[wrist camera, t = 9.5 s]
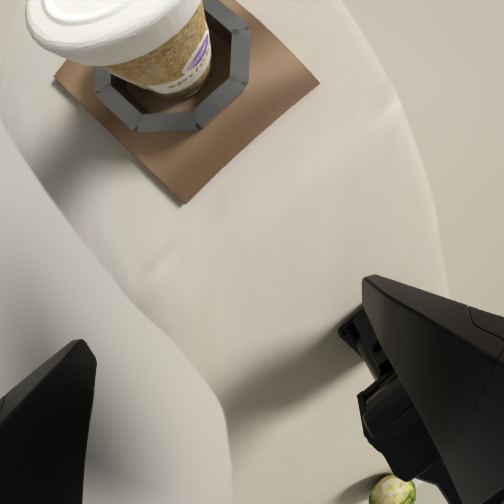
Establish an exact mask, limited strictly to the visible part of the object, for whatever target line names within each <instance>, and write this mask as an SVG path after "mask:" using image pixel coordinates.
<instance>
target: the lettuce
mask: <svg viewBox="0 0 504 504" xmlns="http://www.w3.org/2000/svg"><path fill="white" fill-rule="evenodd" d="M415 499H416V489H415V484H414V483H413V481H412V480H411V481H409V482H404V481H402V480H401V479H399V478H397V477H396V476H395V475H394V474H392V475H388V476H385V477H384V478H382V479H381V480H379V481H378V482H377V483H376V484H375V486H374V487H373V489H372V492H371V494H370V496H369V504H414V502H415Z"/></svg>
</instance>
